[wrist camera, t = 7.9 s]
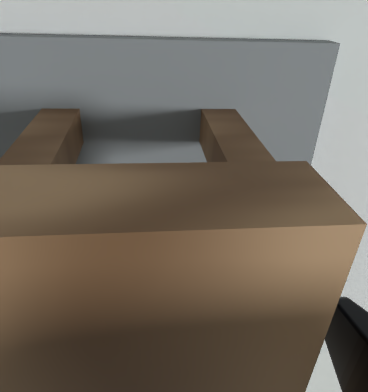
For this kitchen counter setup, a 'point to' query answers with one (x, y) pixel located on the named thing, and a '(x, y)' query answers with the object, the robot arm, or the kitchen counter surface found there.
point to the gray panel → (166, 91)
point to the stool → (166, 265)
